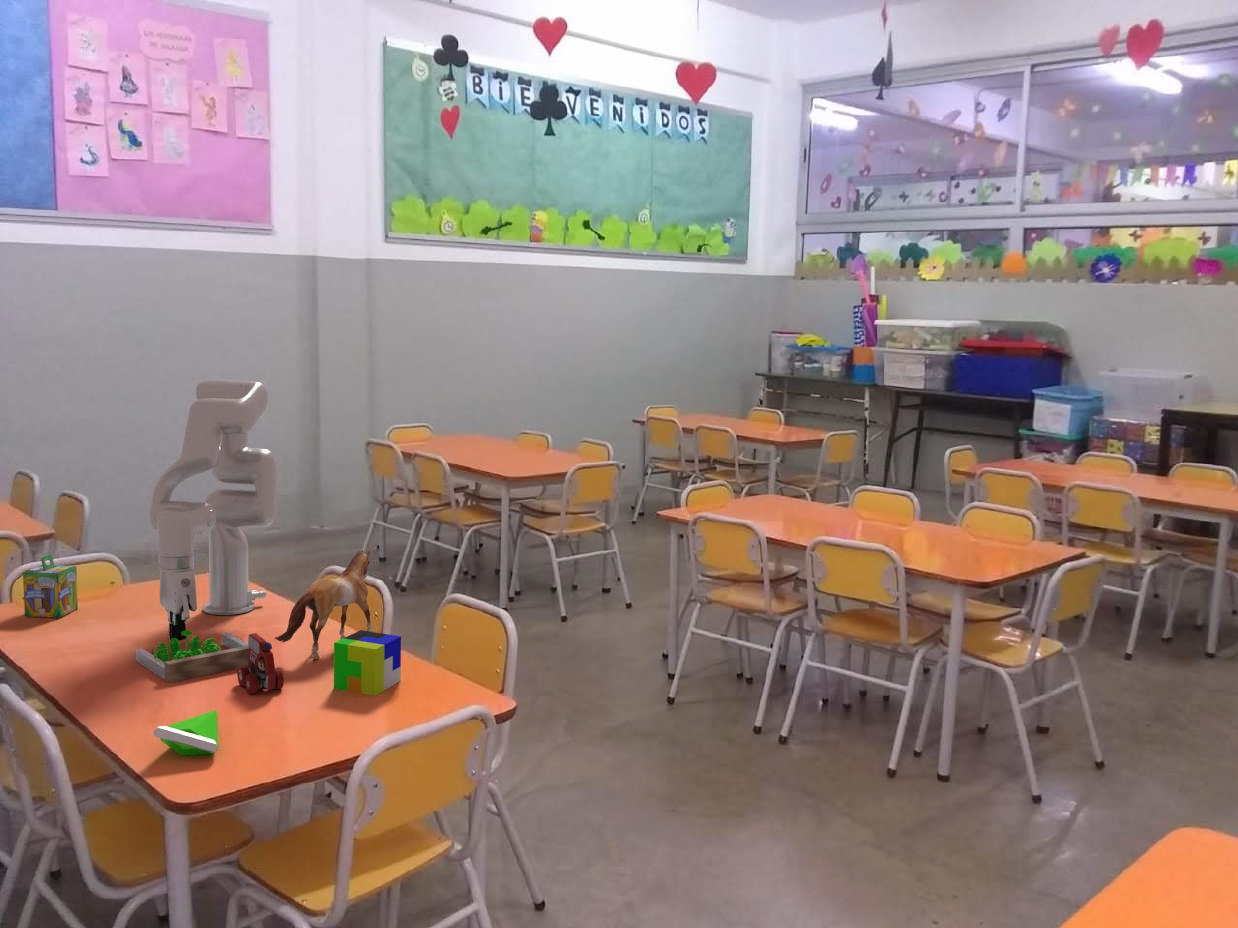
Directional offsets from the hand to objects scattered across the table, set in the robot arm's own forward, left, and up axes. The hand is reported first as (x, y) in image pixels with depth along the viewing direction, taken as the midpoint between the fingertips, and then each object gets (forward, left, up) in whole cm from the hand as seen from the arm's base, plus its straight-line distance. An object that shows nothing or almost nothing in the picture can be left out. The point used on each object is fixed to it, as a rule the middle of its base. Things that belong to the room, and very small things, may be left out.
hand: (177, 639), depth 241 cm
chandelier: (+2, +10, -3) cm, 11 cm away
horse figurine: (-27, +18, -2) cm, 33 cm away
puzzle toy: (-21, +47, -2) cm, 52 cm away
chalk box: (+13, -46, -2) cm, 47 cm away
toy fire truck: (-3, +35, -2) cm, 36 cm away
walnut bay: (0, +12, -2) cm, 13 cm away
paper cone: (+19, +52, -2) cm, 56 cm away
